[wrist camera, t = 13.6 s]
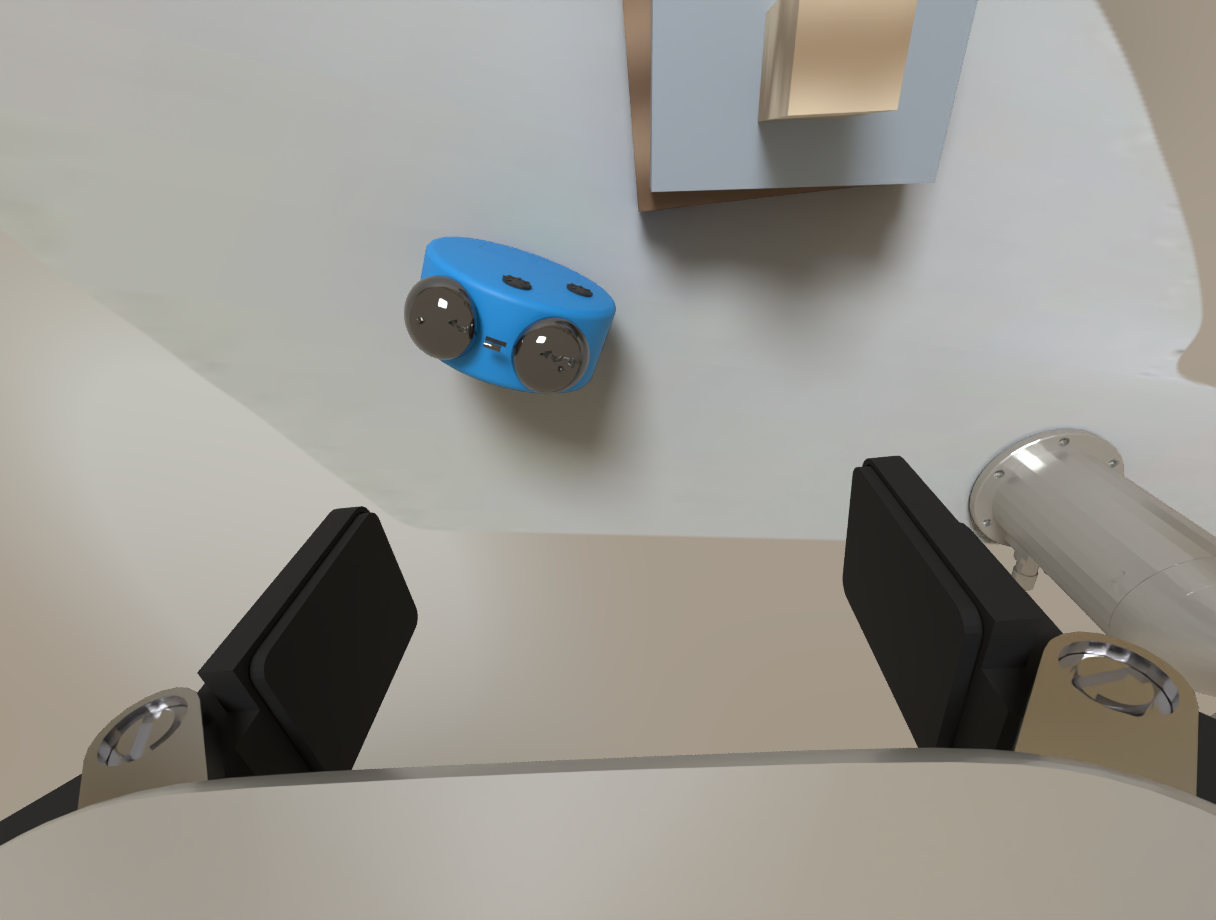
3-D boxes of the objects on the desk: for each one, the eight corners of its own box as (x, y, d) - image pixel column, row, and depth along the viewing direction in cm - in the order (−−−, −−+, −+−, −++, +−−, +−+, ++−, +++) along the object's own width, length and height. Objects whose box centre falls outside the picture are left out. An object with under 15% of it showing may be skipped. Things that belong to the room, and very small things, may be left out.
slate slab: (906, 179, 36) (934, 182, 33) (649, 187, 37) (651, 192, 34) (957, -63, 30) (998, -90, 27) (651, -46, 31) (653, -70, 28)
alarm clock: (445, 298, 45) (368, 360, 32) (460, 221, 42) (382, 254, 29) (595, 351, 47) (581, 430, 34) (620, 281, 44) (615, 337, 31)
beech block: (845, 117, 31) (897, 109, 25) (757, 121, 32) (787, 115, 26) (861, 6, 29) (923, -32, 23) (766, 12, 29) (801, -24, 23)
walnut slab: (898, 176, 40) (923, 178, 36) (638, 206, 41) (638, 211, 38) (933, -84, 33) (968, -112, 29) (620, -35, 35) (618, -55, 31)
